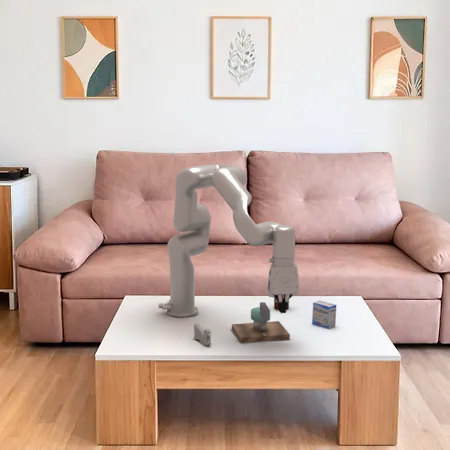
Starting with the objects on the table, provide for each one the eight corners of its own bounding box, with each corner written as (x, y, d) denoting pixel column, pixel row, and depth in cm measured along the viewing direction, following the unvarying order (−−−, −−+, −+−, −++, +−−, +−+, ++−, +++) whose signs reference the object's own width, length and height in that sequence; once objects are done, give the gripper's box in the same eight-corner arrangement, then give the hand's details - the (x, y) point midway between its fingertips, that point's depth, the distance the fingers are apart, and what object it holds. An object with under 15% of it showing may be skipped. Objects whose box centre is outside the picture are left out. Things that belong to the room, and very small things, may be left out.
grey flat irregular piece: (197, 338, 245) (212, 347, 237) (194, 339, 245) (208, 347, 236) (197, 322, 244) (212, 331, 236) (194, 323, 244) (208, 331, 235)
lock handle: (249, 315, 251) (249, 297, 249) (268, 314, 252) (268, 296, 250) (256, 329, 237) (256, 309, 235) (276, 328, 238) (276, 309, 236)
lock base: (240, 343, 241) (240, 326, 239) (231, 329, 254) (231, 313, 253) (289, 339, 244) (290, 323, 243) (278, 326, 258) (279, 310, 256)
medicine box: (311, 324, 260) (312, 302, 258) (318, 321, 263) (319, 299, 262) (329, 329, 255) (329, 307, 253) (335, 326, 258) (336, 304, 256)
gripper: (265, 265, 231) (264, 317, 235) (307, 262, 235) (306, 314, 239) (259, 259, 239) (258, 310, 242) (300, 257, 242) (298, 307, 246)
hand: (282, 311), depth 240 cm, fingers closed
